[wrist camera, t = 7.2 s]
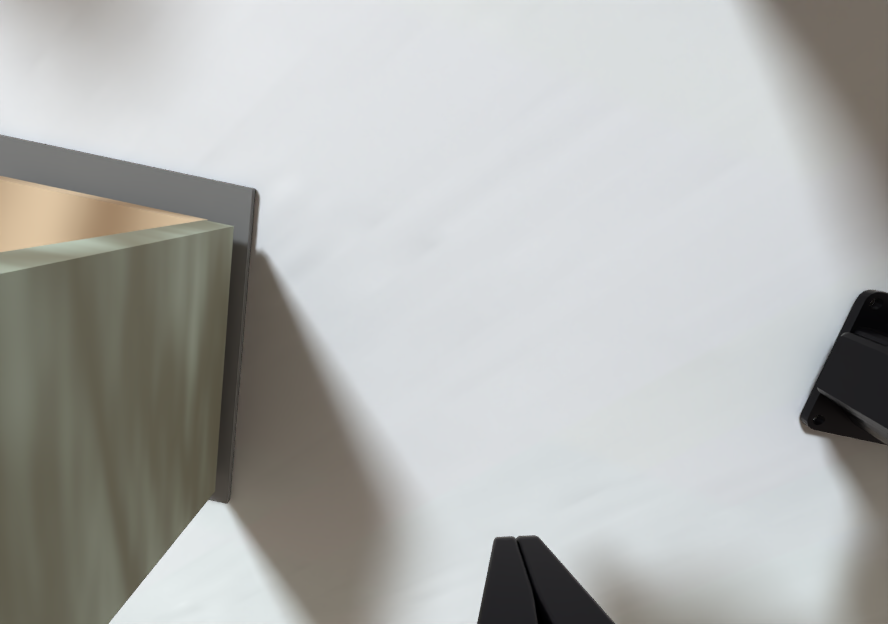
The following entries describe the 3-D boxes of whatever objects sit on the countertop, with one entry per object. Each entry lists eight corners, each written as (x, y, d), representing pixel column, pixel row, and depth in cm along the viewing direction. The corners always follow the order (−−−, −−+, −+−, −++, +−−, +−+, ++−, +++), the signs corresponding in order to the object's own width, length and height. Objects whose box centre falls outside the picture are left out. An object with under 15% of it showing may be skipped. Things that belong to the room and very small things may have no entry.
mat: (255, 188, 19) (252, 189, 19) (229, 499, 24) (226, 503, 24) (-73, 119, 19) (-81, 118, 19) (-36, 445, 24) (-42, 448, 24)
